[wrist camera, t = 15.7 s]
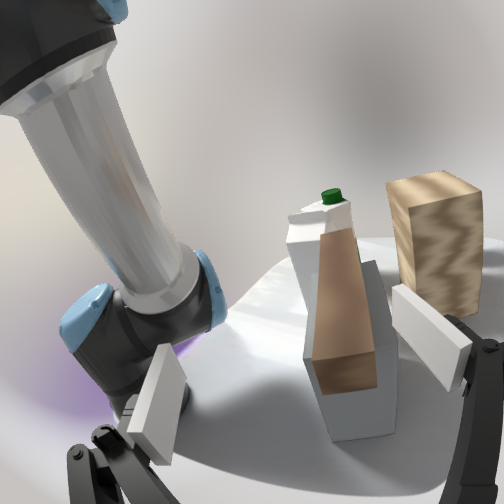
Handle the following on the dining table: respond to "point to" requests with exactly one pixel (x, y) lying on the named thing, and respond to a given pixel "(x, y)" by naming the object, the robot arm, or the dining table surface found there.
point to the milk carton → (334, 210)
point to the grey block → (386, 355)
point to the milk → (306, 245)
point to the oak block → (439, 240)
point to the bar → (342, 319)
